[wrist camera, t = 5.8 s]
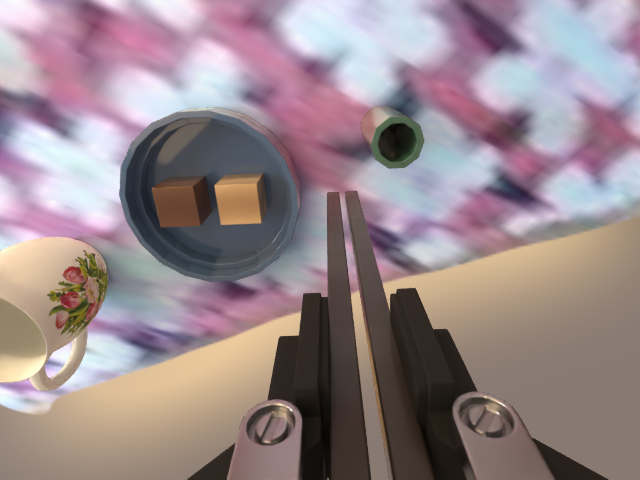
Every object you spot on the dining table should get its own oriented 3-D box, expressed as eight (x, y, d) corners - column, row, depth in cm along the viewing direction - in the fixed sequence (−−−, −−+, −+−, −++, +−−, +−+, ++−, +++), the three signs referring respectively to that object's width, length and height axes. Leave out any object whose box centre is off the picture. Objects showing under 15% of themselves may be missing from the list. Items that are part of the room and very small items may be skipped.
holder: (360, 106, 37) (371, 117, 28) (401, 104, 37) (425, 115, 27) (360, 146, 38) (370, 169, 29) (400, 144, 38) (422, 167, 29)
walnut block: (167, 177, 39) (151, 188, 36) (205, 175, 39) (193, 186, 36) (175, 213, 41) (160, 227, 37) (212, 212, 41) (200, 226, 37)
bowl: (119, 111, 37) (97, 116, 34) (293, 102, 37) (289, 105, 33) (158, 266, 44) (143, 284, 41) (305, 261, 44) (303, 278, 40)
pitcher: (62, 336, 49) (-31, 428, 36) (5, 203, 41) (-135, 259, 29) (146, 332, 48) (81, 424, 36) (103, 196, 41) (3, 251, 28)
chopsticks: (327, 192, 25) (328, 497, 7) (357, 190, 25) (441, 494, 7) (327, 203, 26) (331, 525, 7) (357, 201, 25) (438, 522, 7)
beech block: (224, 174, 39) (214, 185, 35) (263, 173, 39) (256, 183, 35) (230, 211, 41) (220, 225, 37) (267, 209, 41) (261, 223, 37)
